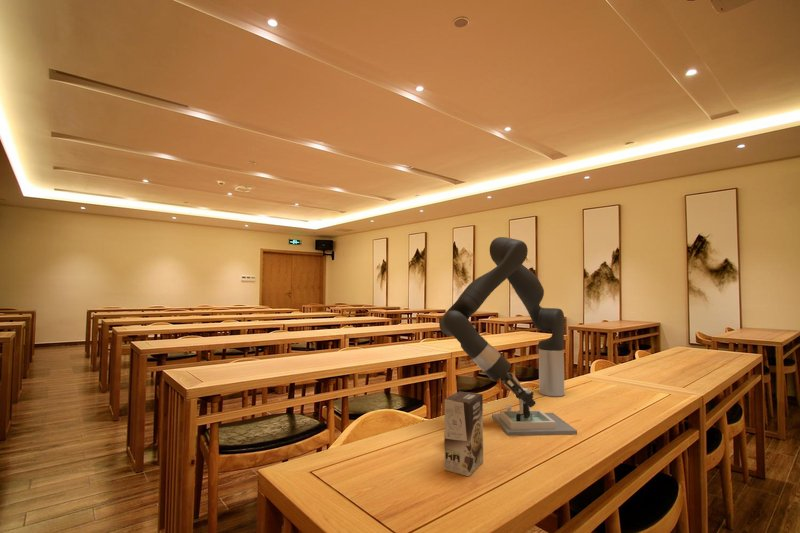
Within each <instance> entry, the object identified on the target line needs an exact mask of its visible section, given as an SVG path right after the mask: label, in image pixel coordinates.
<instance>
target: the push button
mask: <svg viewBox="0 0 800 533" xmlns="http://www.w3.org/2000/svg"><path fill="white" fill-rule="evenodd" d="M523 390H524V391H526V393H527V394H528V395H529V396H530V397H531V398H532V399H534V394H535V393H534V391H531V388H530V387H529V388H528V387H523ZM521 392H522V391H521V390H519V391H518V392H517V393H518V394H520V393H521ZM515 398H517V399H518V401H519V403H518V404H519V405H518V406H519V408H518V409H519V414H516V422H517V421H532V420H533V419H534V418H532V417H533V416H534V415H532V413H530V410H531V408H530V407H529V406H528V405H527V404H526V403H525V402H524V401H523V400H522V399H520V398H518V396H517V395H516V394H515Z"/></svg>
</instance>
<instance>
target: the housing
mask: <svg viewBox="0 0 800 533" xmlns="http://www.w3.org/2000/svg"><path fill="white" fill-rule="evenodd" d="M505 406H506V407H505V408H506V410H499V413H491V417H492V419H493V421H495V423H496V424H497V426H499V427H500V428H501V430H502V431H503V432H504V433H505V434H506V436H508V437H509V436H553V435H554V436H555V435H578V430H577V429H576V428H574V427H573V426H571V425H570V424H569V423H567V422H566V421H565V420H563V419H562V418H561V417H559V416H558V415H557V414H556V413H554V412H544V411H542V410H541V409H535V410H534V409H532V410H531V409H530V413H532V415H534V416H533V417H532V418H534V419H533V420H532V421H517V422H516V414H519V410H520V409H519V410H513V409H512V404H511V405H510V404H507V405H505Z"/></svg>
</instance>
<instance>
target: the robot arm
mask: <svg viewBox="0 0 800 533" xmlns="http://www.w3.org/2000/svg"><path fill="white" fill-rule="evenodd" d="M528 251H529V249H528V245H527V244H526V242H525V241H523V240H520V239H516V238H511V237H505V236H498V237H496V238H494V239H493V240H492V241H491V243H490V245H489V255H490V258H491V260H492V261H493V263H494V264H495V265H496V267H494V268H493V269H491V270H489V271H488V272H486V273H484V274H483V275H481V276H479V277H477V278H475V279H474V280H472V281H471V282H470V283H469V284H468V285H467V287H466V288H465V289H464V291H462V293H461V294H460V295H459V296H458V298H457V299H456V301H455V302H454V303H453V304H452V305H451V306H450V307H449V308H448V310H447V311H446V312H445V313H444V314H443V315H442V316H441V317H440V319H439V322H438V323H439V329H440V331H441V333H443V334H444V335H446V336H453V337H454V338H455V340H456V341H458V342H459V344H460V347H461V349H462V350H463V352H465V354H466V355H467V356H468V357H469V358H470V359H471V360H473V362H474V363H475V365H476V366H478V368H479V369H480V370H481V371H482V372H483V373H484V374H485V375H486V376H487V377H488V378H489V379H490V380H491V381H492V382H497V381H499V380H500V379H502V381H501V382H502V384H503V385H504V386H505V387H506V388H508V390H509V391H511V393H513V394H514V395H515V396H516V395H517V396H518V398H520V399H522V400H523V401H524V402H525V403H526V404H527V405H528V406H529V407H530V409H531V408H533V407H534V406H535V405H536V401H535V400H534V398H531V397H530V396H529V395H528V394H527V393H526V391H524V390H523V388H524V386H523V385H522V384H521V382H520V381H519V379H518V378H517V377H516V376H515V374H514V373H513V372H509V370H510V368H511V363H510V362H509V361H508V359H506V358H505V357H504V355H503V354H501V353H500V352H499V351H498V350H497V349H496V348H495V347H494V346H492V345H491V344H490V343H489V342H488V341H487V340H486V339H485V338H484V337H483V336H482V335H481V334H480V333H478V331H477V330H476V328H475V326H474V325H473V324H472V323H471V321H470V320H469V318H470V317H471V316H472V315H473V314H475V313H476V312H478V310H479V309H480V308H481V306H482V305H483V303H484V302H486V300H487V299H488V297H489V296H490V295H491V294H492V293H493V292H494V290H496V289H497V288H498V287H499V286H501V284H503V283H504V281H506V280H507V281H508V283H509V284H510V285H511V287H512V288H513V290H514V292H515V293H516V295H517V296H518V298H519V300H520V301H521V302H522V304H523V305H524V308H525V309H526V311H527V312H528V315H529V316H530V319H531V321H532V324H533V326H534V327H535V329H537V330H538V331H541V332H551V336H550V337H548V338H546V339H542V340H540V341H538V383H539V384H538V387H539V389H538V391H539V394H540V395H543V396H547V397H563V396H565V394H566V393H565V358H564V357H565V354H564V353H565V351H564V348H565V347H564V345H565V344H564V343H565V315H564V311H563V310H562V309H561V308H556V307H553V308H552V307H551V308H550V307H542V306H541V305H540V304H541V302H542V301H543V299H544V296H545V295H544V294H545V290H544V287H543V285H542V283H541V281H540V280H539V278H538V276H536V274H535V273H534V272H532V271H531V270H530V269H529V268H527V267H526V266H525V265H524V264H523V263H524V262H525V261H526V259H527V257H528V253H529V252H528ZM519 390H521V391H522V392H521V393H520V394H518V393H517V392H518V391H519ZM518 398H517V399H518Z"/></svg>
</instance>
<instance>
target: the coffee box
mask: <svg viewBox="0 0 800 533" xmlns="http://www.w3.org/2000/svg"><path fill="white" fill-rule="evenodd" d="M443 400H444V410H443V411H444V416H443V418H444V419H443V420H444V423H443V424H444V435H443V436H444V467H443V468H444V471H447V472H451V473H455V474H458V475H463V476H466V477H470V476H471V475H472V474H473V473H474V472H475V471H476V470H477V469H478V468H479V467H480V466H481V465H482V464H483V463H484V421H483V420H484V417H483V416H484V414H483V413H484V412H483V411H484V404H483V401H484V399H483V394H482V393H477V392H468V391H467V392H465V391H461V390H459V391H457V392H455V393H453V394H451V395H450V396H448V397H446V398H445V399H443Z"/></svg>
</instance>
